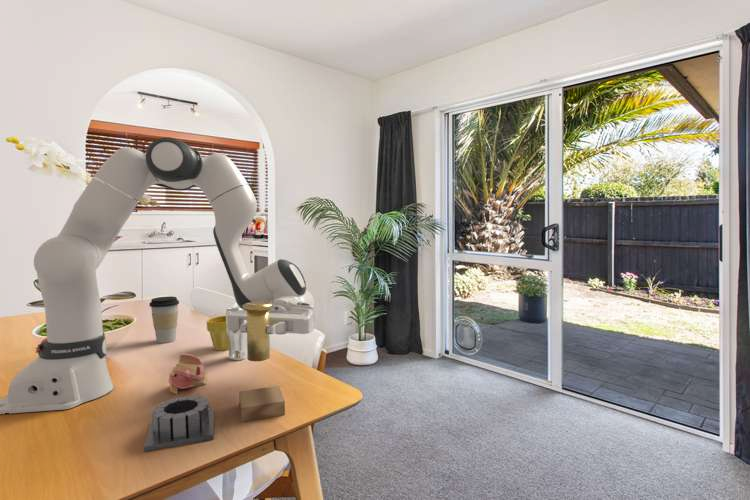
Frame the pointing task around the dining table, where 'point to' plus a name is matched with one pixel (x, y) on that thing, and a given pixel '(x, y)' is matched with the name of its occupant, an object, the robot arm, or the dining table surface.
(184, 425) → the hub
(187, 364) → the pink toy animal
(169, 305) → the coffee cup
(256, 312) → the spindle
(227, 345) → the plant pot
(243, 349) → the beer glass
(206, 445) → the dining table surface
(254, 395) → the stand
